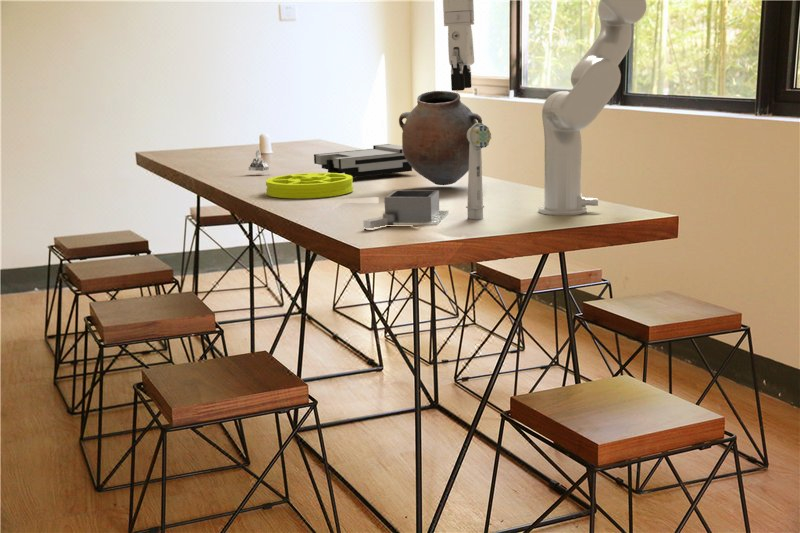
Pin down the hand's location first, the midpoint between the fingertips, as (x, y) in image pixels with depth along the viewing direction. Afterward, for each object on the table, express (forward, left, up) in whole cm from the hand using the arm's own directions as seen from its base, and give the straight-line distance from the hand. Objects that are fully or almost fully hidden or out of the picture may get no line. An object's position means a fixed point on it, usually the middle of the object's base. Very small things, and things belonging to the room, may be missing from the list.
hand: (461, 89), depth 240 cm
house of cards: (+92, -103, -34) cm, 143 cm away
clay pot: (+16, -60, -34) cm, 70 cm away
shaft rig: (+13, +2, -33) cm, 36 cm away
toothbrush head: (-4, +2, -34) cm, 34 cm away
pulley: (+57, -49, -34) cm, 82 cm away
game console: (+50, -95, -34) cm, 112 cm away
